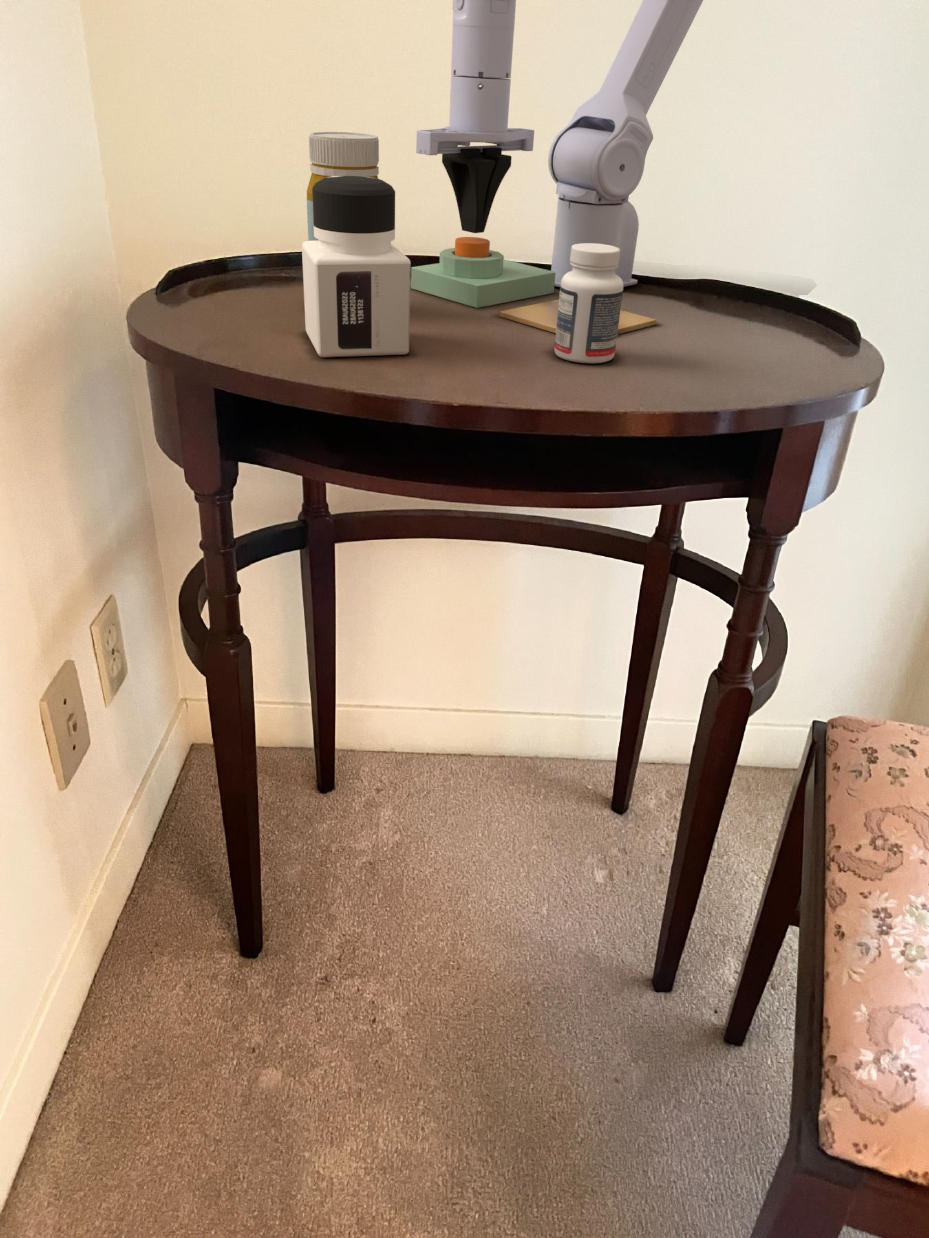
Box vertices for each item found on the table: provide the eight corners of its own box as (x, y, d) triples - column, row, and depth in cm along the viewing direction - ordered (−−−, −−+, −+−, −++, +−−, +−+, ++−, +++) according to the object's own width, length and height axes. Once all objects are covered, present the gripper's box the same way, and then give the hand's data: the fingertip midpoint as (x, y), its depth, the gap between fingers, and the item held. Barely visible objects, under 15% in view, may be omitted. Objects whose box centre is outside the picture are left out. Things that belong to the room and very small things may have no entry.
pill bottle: (619, 352, 79) (634, 246, 75) (607, 368, 75) (623, 256, 70) (561, 344, 81) (572, 239, 76) (546, 359, 77) (557, 249, 72)
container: (410, 355, 75) (413, 185, 68) (318, 359, 73) (311, 184, 66) (390, 331, 82) (390, 173, 75) (305, 333, 80) (297, 171, 73)
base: (488, 275, 103) (490, 238, 101) (553, 293, 98) (557, 254, 95) (410, 288, 96) (411, 249, 94) (477, 308, 90) (479, 266, 88)
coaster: (569, 301, 95) (570, 296, 94) (655, 324, 88) (656, 319, 88) (498, 316, 88) (499, 311, 88) (586, 342, 82) (586, 337, 81)
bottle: (371, 320, 84) (370, 141, 76) (301, 313, 85) (292, 135, 77) (391, 304, 90) (392, 135, 82) (325, 297, 91) (319, 129, 83)
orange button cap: (471, 253, 96) (472, 235, 95) (495, 259, 94) (497, 241, 93) (447, 256, 94) (448, 238, 93) (471, 262, 92) (472, 244, 91)
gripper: (502, 76, 92) (493, 220, 99) (395, 73, 83) (394, 231, 90) (554, 81, 88) (541, 230, 95) (448, 78, 79) (442, 242, 86)
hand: (472, 231), depth 92 cm, fingers closed
